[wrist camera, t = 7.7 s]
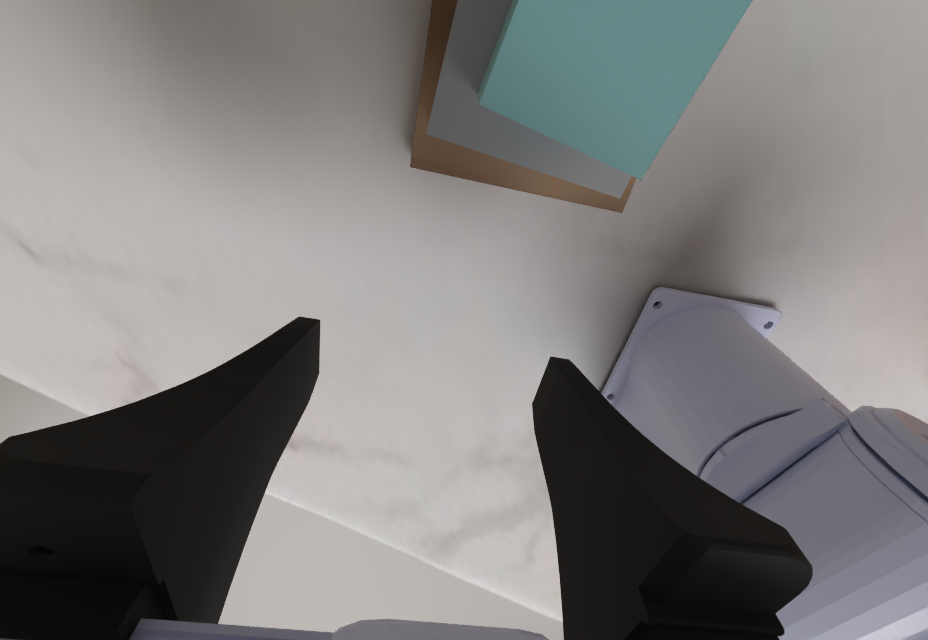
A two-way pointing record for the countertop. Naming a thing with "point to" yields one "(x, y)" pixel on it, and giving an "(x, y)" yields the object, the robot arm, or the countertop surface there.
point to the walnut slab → (472, 163)
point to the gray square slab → (490, 131)
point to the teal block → (606, 70)
